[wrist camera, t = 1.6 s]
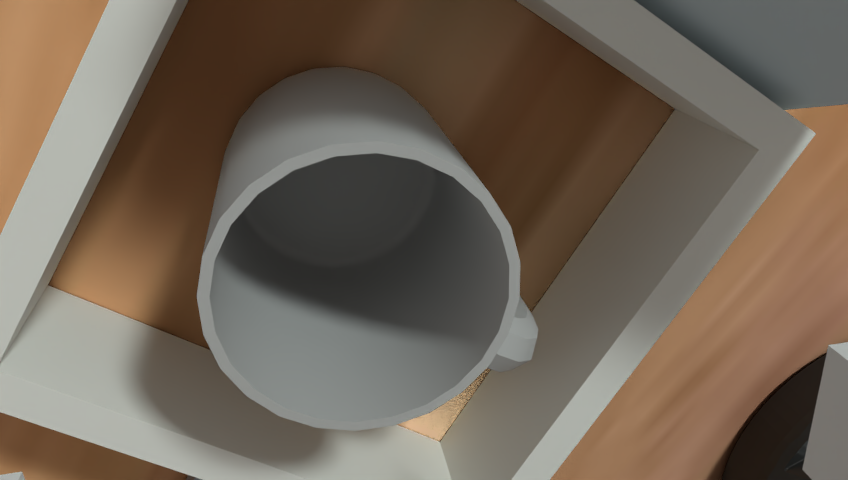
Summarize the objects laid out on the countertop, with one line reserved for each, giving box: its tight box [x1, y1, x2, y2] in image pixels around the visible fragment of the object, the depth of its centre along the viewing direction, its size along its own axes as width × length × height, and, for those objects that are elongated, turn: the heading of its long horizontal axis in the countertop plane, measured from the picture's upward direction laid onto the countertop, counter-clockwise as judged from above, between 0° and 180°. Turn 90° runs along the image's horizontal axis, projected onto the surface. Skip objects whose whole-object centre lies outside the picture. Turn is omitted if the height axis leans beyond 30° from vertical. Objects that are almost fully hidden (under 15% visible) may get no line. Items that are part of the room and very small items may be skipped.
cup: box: [197, 67, 538, 431], centre depth 21 cm, size 7×10×9 cm
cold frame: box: [0, 0, 848, 480], centre depth 17 cm, size 23×18×16 cm
